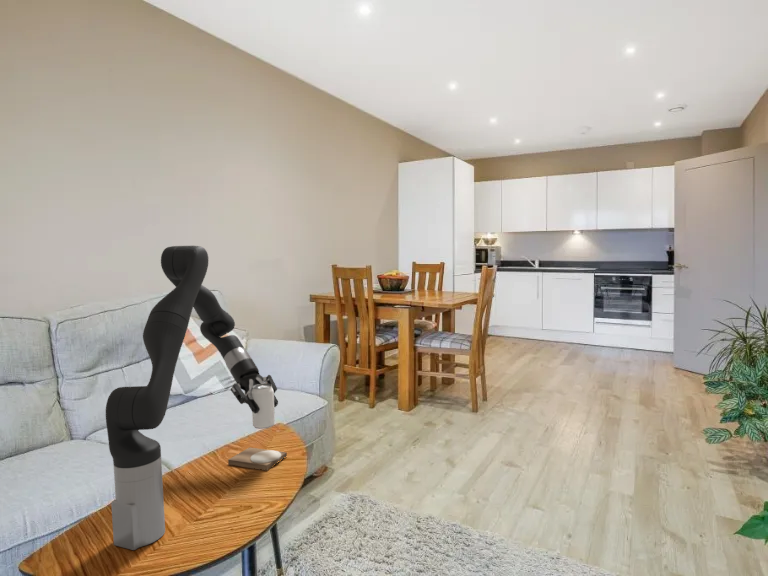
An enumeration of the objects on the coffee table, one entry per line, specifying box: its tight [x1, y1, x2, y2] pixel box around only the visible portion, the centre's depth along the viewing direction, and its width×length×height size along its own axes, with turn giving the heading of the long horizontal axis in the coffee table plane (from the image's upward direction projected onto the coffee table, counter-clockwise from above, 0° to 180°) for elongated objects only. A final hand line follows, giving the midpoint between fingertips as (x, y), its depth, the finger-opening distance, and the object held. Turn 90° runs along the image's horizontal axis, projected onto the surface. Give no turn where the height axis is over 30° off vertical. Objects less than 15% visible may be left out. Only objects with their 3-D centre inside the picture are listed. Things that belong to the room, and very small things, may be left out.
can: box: [251, 384, 276, 430], centre depth 140 cm, size 6×6×12 cm
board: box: [227, 447, 288, 471], centre depth 142 cm, size 10×14×2 cm
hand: (266, 408), depth 139 cm, fingers closed on can, 6 cm apart
